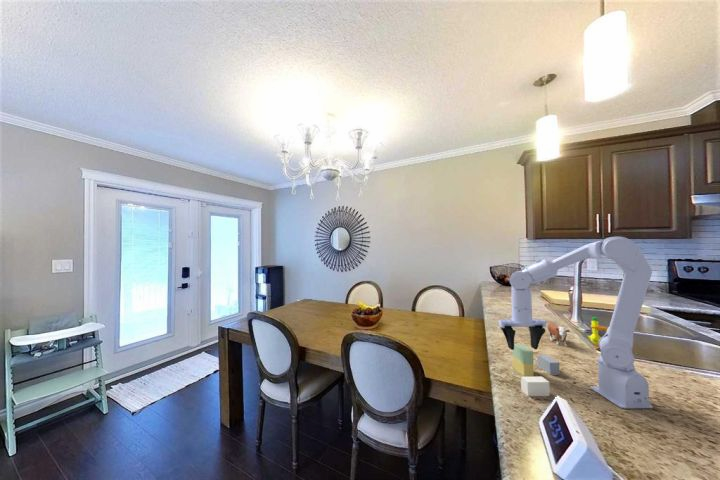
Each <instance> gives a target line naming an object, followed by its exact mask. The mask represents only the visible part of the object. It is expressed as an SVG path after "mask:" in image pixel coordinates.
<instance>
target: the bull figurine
mask: <svg viewBox="0 0 720 480" xmlns="http://www.w3.org/2000/svg"><path fill="white" fill-rule="evenodd" d="M547 330H548V336H549V340H551V342H554V340H555V339H556V340H555V341H556V344H557V345H556V346H559V345H560V341H562V342H563V346H564V347H565V346H566V348H568V344H567V335H568V334H567V333H570V329H565V327H563V326H559V325H558V324H555V323H553V322H549V323H548V324H547ZM553 336H554V339H553Z"/></svg>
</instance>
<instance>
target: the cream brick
mask: <svg viewBox="0 0 720 480" xmlns="http://www.w3.org/2000/svg"><path fill="white" fill-rule="evenodd" d="M520 388H521V389H520V390H521V392H523V393H524V395H526V396H527V397H550V381H548V380H547V379H545V378H544V376H531V377H524V376H520Z"/></svg>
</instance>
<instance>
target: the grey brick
mask: <svg viewBox="0 0 720 480" xmlns="http://www.w3.org/2000/svg"><path fill="white" fill-rule="evenodd" d="M536 359H537V360H536V361H537V367H539V368H540V369H541V370H543V371H544V372H546V373H547V374H549V375H552V376H553V375H554V376H555V375H560V362H559V361H557V359H554V358H552V357H551V356H550V355H548V354H537V357H536Z"/></svg>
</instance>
